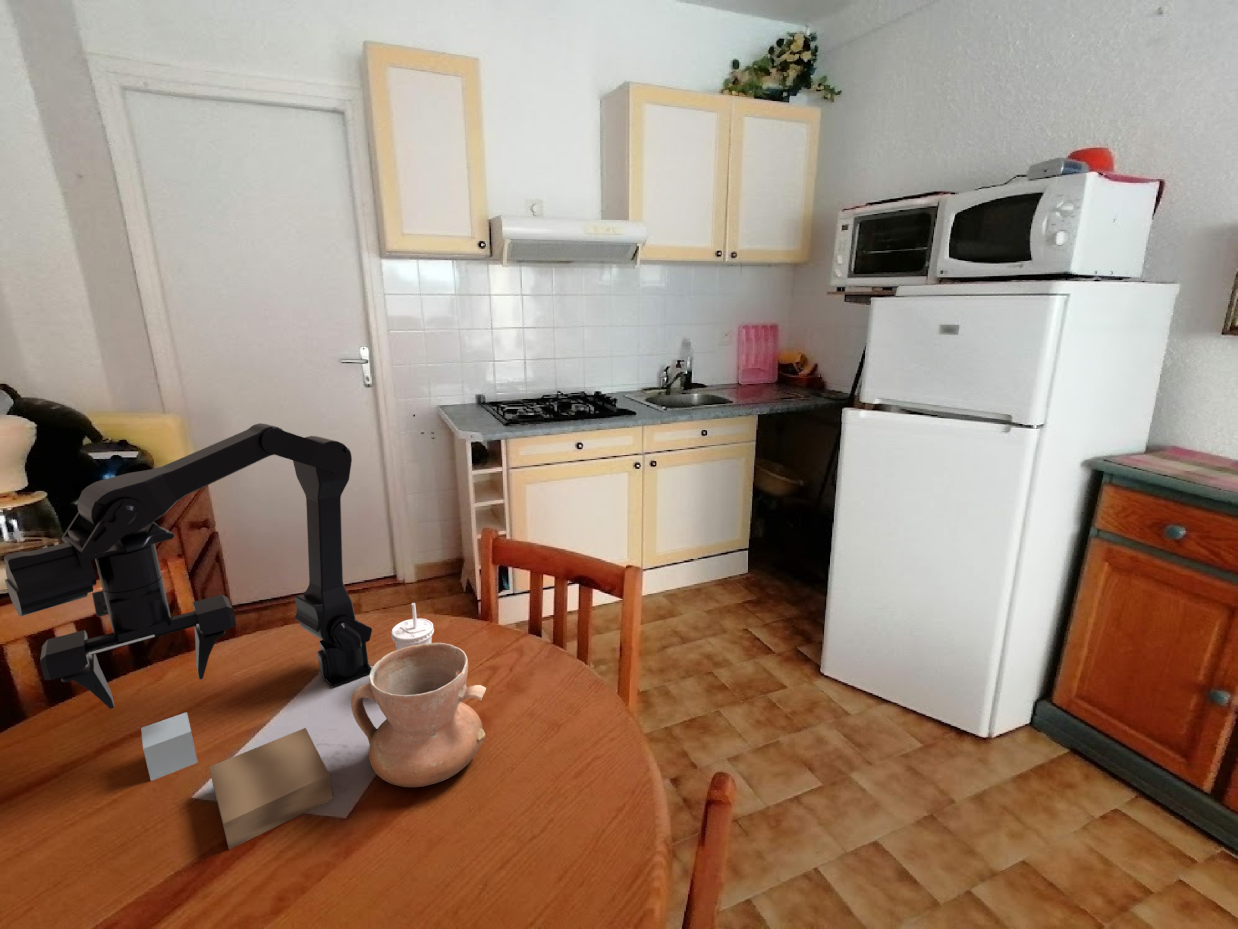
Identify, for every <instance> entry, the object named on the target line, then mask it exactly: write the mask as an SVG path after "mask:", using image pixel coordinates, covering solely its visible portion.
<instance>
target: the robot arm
mask: <svg viewBox="0 0 1238 929" xmlns="http://www.w3.org/2000/svg"><path fill="white" fill-rule="evenodd" d="M271 456H278V457H280V458H284V459H287V460H291V461H292V462H293V467H294V470H295V475H296V479H297V480H298V482H299V484H300V486H301V488H302V491H303V493H304V495H305V501H306V502H305V503H306V504H305V505H306V524H307V528H306V529H307V530H306V531H307V549H308V551H307V553H308V554H307V555H308V575H309V576H308V577H309V578H308V580H309V582H308V583H309V584H308V586H307V589H306V590H305V592H304V594H301V595H300V594H299V595H295V597H294V601H295V605H296V613H295V616H294V620H296V621H297V622H299V625H300V626H301V628H303V630H305V631H307V632H308V633H310V634H312V635H313V636H315V637H316V638H319V646H320V650H318V651H317V660H318V667H319V673H320V676H321V677H322V678H323V680H324V681H327V683H328V685H329V686H330V688H335V687H338V686H340V685H343V684H345V683H349V682H351V681H354V680H356V679H359V678H361V677H364V676H368V675H370V671H371V669H372V667H371V665H370V664H369V658H368V651H367V650H368V649H367V643H369V641H370V640H371V636H372V633H373V628H372V627H371V626H369V625H367V624H365V623H364V622H362V621H360V620H358V619H356V615H355V611H354V605H353V601H352V598H351V597H350V594H349V593H348V591H347V589H346V587H345V584H344V571H343V569H344V568H343V567H344V566H343V538H342V537H343V536H342V533H343V532H342V502H341V501H342V500H341V499H342V495H343V492H344V491H345V489H346V487H347V484H348V483H349V481H350V475H351V468H352V461H353V459H352V458H353V457H352V453H351V450H350V448H348V446H346V445H345V443H343V442H340V441H337V440H334V439H330V438H325V437H321V436H318V435H317V436H316V435H309V436H305V437H304V436H300V435H298V434H294V433H291V432H289V431H285V430H283V428H281V427H279V426H276V425H271V424H268V423H255V424H253V425H252V426H250V427H249V428H247V429H245V430H244V431H241V432H239V433H236V434H234V435H233V436H229V437H227V438H224V439H222V440H221V441H218V442H216V443H215V442H214V443H213V444H211V445H209V446H207V447H204V448H202V449H201V448H200V449H198V450H197V451H194V452H193V453H190V454H187V455H186V456H183V457H181V458H178V459H176V460H174V461H171V462H169V463H167V464H164V465H162V466H159V467H155V468H151V469H146V470H140V471H133V472H127V473H123V474H120V475H115V476H113V477H108V478H104V479H101V480H98V481H94V482H93V483H91V484H89V485H88V486H86V487H85V488H84V489H83V490H81V493H80V496H79V498H78V500H77V510H78V512H77V513H76V515H75V516H74V518H73V519H72V521H71V522H70V524H69V525H68V527H67V529H66V530H65V532H64V533H63V535H62V536H61V540H62V541H63V543H60V544H55V545H50V546H47V547H42V548H38V549H34V550H29V551H19V552H14V553H10V554H5V555H4V557H3V560H4V563H5V575H6V579H4V582H5V586H6V588H7V592H8V594H9V597H10V600H11V602H12V605H13V607H14V610H15V611H16V613H17V614H18V616H19V617H25V616H28V615H31V614H33V613H34V614H35V613H39V612H41V611H45V610H48V609H51V608H54V607H58V606H61V605H64V604H68V603H72V602H74V601H78V600H81V599H84V598H87V597H88V594H90V593H91V594H92V599H93V600H92V601H93V605H94V611H95V615H96V617H98V618H99V617H103V616H109V617H108V618H109V621H110V624H111V629H112V632H110V633H106V634H102V635H98V636H95V637H91V638H88V633H87V631H86V630H85V629H83V630H79V631H75V632H72V633H68V634H64V635H59V636H56V637H52V638H48V639H47V640H45V641H44V643H43V645H42V646H41V653H40V659H39V663H40V664H39V665H40V669H41V672H42V675H43V679H44V681H53V680H56V679H60V680H61V682H62V683H69V682H71V681H72V682H75V683H77V684H78V685H80V686H81V687H83V688H85V689H86V690H88V691H89V692H91V693H92V694H93V695H94V696H96V698H98V700H100V701H101V702H102V703H103V704H104V705H105V706H106V707H107V708H109V709H110V710H112V709H114V708H115V703H114V701H115V700H114V698H113V693H112V691H111V688H110V686H109V684H108V682H107V680H106V679H107V678H106V677H105V675H104V673H103V670H102V669H101V667H100V664H99V660H98V657H97V654H100V653H103V652H107V651H111V650H115V649H118V648H121V647H125V646H129V645H132V644H136V643H139V642H143V641H147V640H152V639H154V638H158V637H161V636H164V635H169V634H172V633H175V632H180V631H182V630H186V629H190V628H193V630H194V641H195V642H194V643H195V665H196V671H197V675H198V680H199V681H200V680H203V679H204V677H205V673H206V670H207V665H208V662H209V659H210V655H211V652H212V650H213V648H214V647H215V644H216V641H217V639H218V638H221V637H224V636H225V635H226V630H229V629H233V627H235V626H236V625H237V622H236V617H235V613H234V612H235V611H234V609H233V606H232V604H231V602H230V599H229V597H227V596H226V595H224V594H218V595H215V596H211V597H208V598H203V599H200V600H195V601H192V606H193V611H190V612H186V613H183V614H179V615H174V616H171V611H170V604H169V602H168V596H167V593H166V590H165V585H164V578H163V576H162V572H161V565H160V562H159V557H158V552H157V547H156V544H159V543H162V542H165V541H169V540H173V539H174V538H175V533H173V532H171V531H170V530H168V529H166V528H165V527H161V526H160V525H159V524H157V523H156V522H155V521H157V520H158V519H160V518H162V517H163V516H164V515H165V514H167V512H168V511H169V510H170V509H171V508H173V506H174V505H176V503H177V502H179V501H180V500H182V499H184V498H185V497H187V496H188V495H190V494H192V493H194V492H197V491H199V490H201V489H202V488H205V487H207V486H209V485H211V484H213V483H215V482H217V481H220V480H222V479H224V478H226V477H227V476H230V475H232V474H234V473H237V472H238V471H241V470H243V469H245V468H247V467H249V466H251V465H254V464H256V463H257V462H260V461H262V460H264V459H266V458H268V457H271ZM92 560H95V564H96V568H97V574H98V576H99V580H100V584H101V588H102V590H99V591H95V592H94V587H95V586H96V585H97V576H96V572H95V569H94V565H93V563H92Z"/></svg>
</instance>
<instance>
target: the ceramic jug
mask: <svg viewBox="0 0 1238 929" xmlns="http://www.w3.org/2000/svg"><path fill="white" fill-rule="evenodd" d="M371 668H372V669H371V671H370V674H368V676H369V678H368V679H369V682H367V683H364V684H363V685H360V686H358V687H357V688H356V689H355V690H354V691H353V693H352V696H351V700H350V701H351V702H350V704H351V711H352V715H353V718H354V720H355V722H356V724H357V726H359V728H360V730H361V731H362V732H363V733H364V734H365V736H366V737H367V739H368V743H369V747H368V760H369V763H370V766H371V768H372V770H373V771H374V773H375V774H376V775H377V776H378V777H380V779H382V780H383V781H385V782H387V783H389V784H391V785H394V786H398V787H403V788H420V787H427V786H430V785H434V784H438V783H440V782H443V781H445V780H447V779H450V778H452V777H454V776H455V775H457V774H458V773H459V772H461V771H462V770H464V768H465V767H466V766H468V765H469V763H471V761H472V759H473V758H474V757H475V756H476V754H477V753H478V751H479V750H480V748H481V747H482V745H483V744H484V742H485V740H486V732H485V730H484V729H483V723H482V719H481V718H480V716H479V714H478V713H477V712H476V710H475V709H473V708H472V707H471V706H469V705H468V704H467V703H464V702H463V701H466V700H469V699H476V700H478V701H480V702H481V701H482V699H483V696H484V695H485V692H486V690H487V687H486V686H483V685H481V684H478V685H477V684H476V685H475V684H474V685H470V686H467V679H468V673H469V672H468V670H469V660H468V656H467V655H466V652H465V651H464V650H462V649H461V648H459V647H458V646H455V645H453V644H450V643H443V642H431V643H430V644H421V645H413V646H410V647H405V648H402V649H399V650H397V649H396V650H394V651H392V652H388V653H387V654H386V655H384V656H383V657H382V658H380V659H379V660H377V661H376V663H374V665H373V666H372V667H371ZM459 672H460V673H459ZM363 698H366V699H369V700H372V701H374V702H376V704H377V706H378V707H379V709H380V711H381V712H382V714H383V716H384V717H385V720H384V721H383V722H382V723H381V724H379V726H378V727H376V726H375V725H374V723H373V722H372V721H371V718H370V717H369V714H368V713H367V710H366V708H365V705H364V700H363Z"/></svg>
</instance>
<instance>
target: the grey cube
mask: <svg viewBox="0 0 1238 929" xmlns="http://www.w3.org/2000/svg"><path fill="white" fill-rule="evenodd" d="M140 730H141V741H142V749H143V754H144V758H145V762H146V766H147V771H148V775H149V779H150V782H152V781H154V780H158V779H161V778H163V777H165V776H168V775H170V774H172V773H175V772H178V771H180V770H183V769H186V768H187V767H190V766H193V765H195V764H198V762H199V761H198V757H197V752H196V748H195V743H194V738H193V734H192V728H191V724H190V720H189V715H188V712H183V713H180V714H177V715H175V716H172V717H168V718H166V719H162V720H161V721H157V722H153V723H152V724H149V725H146V726H143V727H141V728H140Z"/></svg>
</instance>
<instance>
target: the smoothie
mask: <svg viewBox="0 0 1238 929" xmlns="http://www.w3.org/2000/svg"><path fill="white" fill-rule="evenodd" d="M416 606H417V605H416V603H415V602H412V603H411V612H412V618H411V619H407V620H403V621H400V622H399V623H397V624H395V625H394V626H393V627H392V630H391V640H392V641H393V642H394V645H395V648H396V650H399V649H402V648H405V647H410V646H413V645H421V644H430V643H433V642H432V639H433V635H434V632H435V628H434V623H433V622H432V621H430V620H428V619H426V618H418V617H417V609H416Z"/></svg>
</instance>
